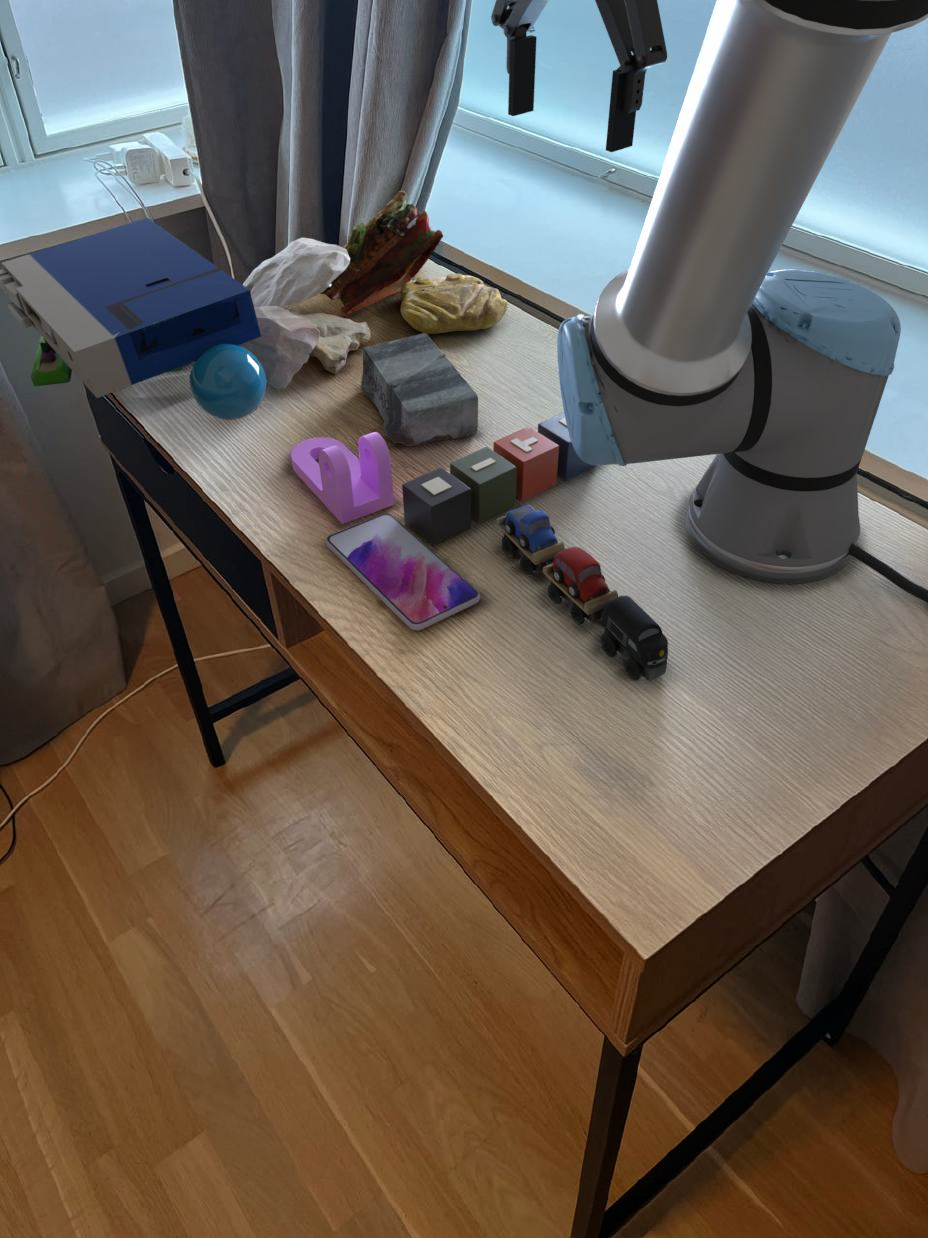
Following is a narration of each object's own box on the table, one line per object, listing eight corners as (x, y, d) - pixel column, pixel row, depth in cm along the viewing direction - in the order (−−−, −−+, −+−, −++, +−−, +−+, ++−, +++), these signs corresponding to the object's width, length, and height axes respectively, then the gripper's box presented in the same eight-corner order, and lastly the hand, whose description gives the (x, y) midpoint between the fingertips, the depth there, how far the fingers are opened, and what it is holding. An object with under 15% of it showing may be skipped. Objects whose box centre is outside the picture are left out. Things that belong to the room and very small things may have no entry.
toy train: (638, 694, 75) (646, 647, 71) (485, 541, 89) (486, 496, 85) (676, 675, 76) (685, 628, 73) (520, 528, 90) (522, 483, 87)
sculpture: (407, 316, 114) (387, 268, 125) (409, 344, 117) (388, 294, 128) (515, 305, 116) (485, 259, 127) (514, 332, 119) (485, 285, 130)
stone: (395, 348, 113) (318, 356, 108) (390, 375, 116) (315, 384, 110) (344, 296, 120) (269, 301, 115) (340, 322, 123) (267, 328, 118)
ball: (222, 447, 104) (283, 411, 102) (171, 395, 98) (235, 356, 96) (222, 404, 109) (280, 369, 107) (174, 352, 104) (234, 314, 102)
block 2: (515, 506, 93) (517, 466, 90) (479, 523, 91) (479, 483, 88) (486, 484, 96) (486, 445, 92) (450, 501, 94) (449, 461, 90)
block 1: (471, 528, 90) (471, 487, 87) (432, 546, 88) (431, 506, 85) (442, 505, 93) (441, 465, 90) (404, 523, 91) (401, 483, 88)
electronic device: (261, 336, 104) (156, 256, 122) (250, 289, 100) (144, 215, 119) (85, 402, 96) (3, 306, 115) (66, 354, 93) (-16, 263, 112)
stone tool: (337, 341, 111) (244, 296, 117) (321, 316, 107) (225, 270, 112) (292, 402, 110) (200, 354, 115) (274, 379, 105) (180, 330, 111)
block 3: (598, 465, 98) (602, 426, 95) (565, 481, 96) (568, 442, 93) (568, 446, 100) (571, 407, 97) (535, 461, 98) (537, 422, 95)
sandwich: (465, 232, 123) (428, 178, 122) (419, 245, 113) (378, 186, 112) (383, 309, 133) (349, 259, 132) (335, 327, 123) (297, 274, 122)
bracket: (393, 504, 93) (389, 443, 88) (342, 524, 91) (335, 462, 86) (331, 443, 101) (325, 383, 96) (283, 459, 99) (273, 399, 94)
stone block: (399, 455, 100) (396, 411, 96) (354, 390, 109) (350, 347, 106) (478, 435, 102) (478, 391, 98) (427, 373, 112) (425, 331, 108)
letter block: (556, 484, 96) (559, 444, 92) (522, 501, 94) (523, 461, 90) (526, 464, 98) (528, 425, 95) (492, 480, 96) (493, 440, 93)
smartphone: (388, 510, 91) (484, 594, 82) (388, 517, 92) (483, 602, 83) (321, 537, 88) (413, 628, 79) (322, 544, 88) (413, 635, 80)
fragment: (275, 267, 130) (254, 234, 127) (391, 240, 118) (371, 203, 115) (219, 338, 123) (195, 305, 119) (336, 317, 111) (313, 280, 108)
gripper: (453, -164, 83) (455, 106, 98) (670, -136, 69) (635, 174, 83) (519, -169, 86) (512, 92, 101) (739, -145, 72) (693, 155, 87)
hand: (567, 130), depth 92 cm, fingers open, 13 cm apart
